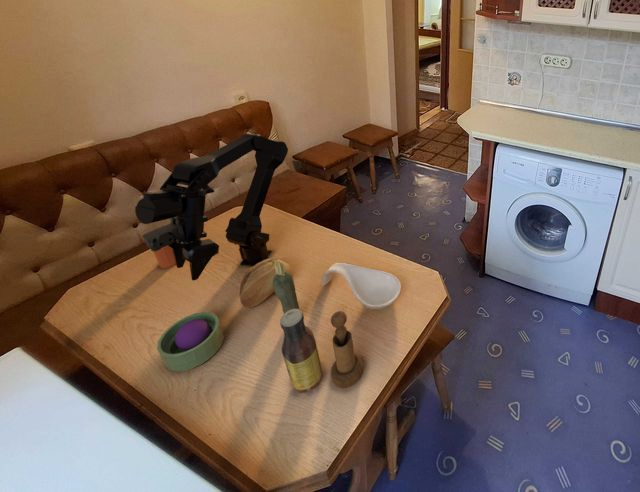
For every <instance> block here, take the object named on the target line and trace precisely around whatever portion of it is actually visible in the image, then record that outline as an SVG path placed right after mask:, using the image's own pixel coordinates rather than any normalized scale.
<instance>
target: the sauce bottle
mask: <svg viewBox="0 0 640 492" xmlns="http://www.w3.org/2000/svg"><path fill="white" fill-rule="evenodd" d="M279 323H280V327H281V329H282V330H283V336H284V337H283V341H282V344H281V355H282V358H283V361H284V363H285V367H286V370H287V374H288V377H289V381H290V383H291V386H292V387H293V389H294V390H295V391H296V392H299V393H300V394H301V393H302V394H305V393H308V392H310V391H313V390H314V389H316V388H317V387H318V386H319V384H320V382H321V381H322V378H323V374H324V373H323V365H322V361H321V357H320V352H319V348H318V343H317V340H316V337H315V334H314V332H313V330H312V329H311V328H309V327H308V326H306V324H305V317H304V312H303V311H302V310H301V309H300V308H299V309H291V310H289V311H287V312H286V313H285V314H284V313H283V315H281V317H280V320H279Z"/></svg>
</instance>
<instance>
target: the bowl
mask: <svg viewBox="0 0 640 492" xmlns="http://www.w3.org/2000/svg"><path fill="white" fill-rule="evenodd" d="M195 319H200V320H204V321H206V322H207V323H208V324H209V326H210V335H209V337H208V338H207V339H206V340H204V341H203V342H202V343H201V344H199V345H198V346H196V347H194V348H193V349H190V350H188V351H184V350H181V349H180V348H178V346H177V345H176V342H175V337H176V334H177V332H178V330H179V329H180V328H181V327H182V326H183V325H184V324H185V323H187V322H189V321H191V320H195ZM224 335H225V334H224V331H223V328H222V325H221V322H220V319H219V317H218V316H217V315H216V314H215V313H212V312H210V311H209V312H208V311H202V312H201V311H200V312H196V313H192V314H189V315H187V316H185V317H183V318H181V319H179V320H177V321H176V322H174V323H173V324H172V325H170V326H169V327H168V328H166V330H165V331H164V332H162V334H161V336H160V338H159V339H158V341H157V346H156V350H157V352H158V354H159V356H160V358H161V360H162V362H163V364H164V366H165V369H167V370H169V371H171V372H178V373H179V372H185V371H188V370H192V369H195V368H197V367H199V366H200V365H202V364H203V363H206V362H207V361H208V360H210V359H211V358H212V357H213V356H214V355H215V354H216V353H217V352H218V350H220V348H221V347H222V344H223V342H224V339H225V336H224Z"/></svg>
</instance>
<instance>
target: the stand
mask: <svg viewBox="0 0 640 492" xmlns="http://www.w3.org/2000/svg"><path fill="white" fill-rule="evenodd" d="M152 252H153V254H154V256H155V259H156V261H157V263H158V266H159V267H160V268H161V269H168V268H170V267H174V266H176V262H175V259H174V255H173V252H172V249H171V247H169V246H166V247H164V248H161V249H160V250H158V251H152Z"/></svg>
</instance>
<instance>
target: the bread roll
mask: <svg viewBox="0 0 640 492" xmlns="http://www.w3.org/2000/svg"><path fill="white" fill-rule="evenodd" d="M274 260H277V261H278V262H281V263H282V264H283V265H284V269H285V271H287V272H289V273H290V274H291V275H292V269H291V266H290V265H289V264H288V263H287V262H285V261H283V260H282V259H278V258H267V259H266V260H263V261H261V262H259V263H257V264H256V265H254V266H251V267H250V268H249V269H248V270H247V271H246V272H245V274H244V275H243V276H242V279H241V281H240V285H239V293H238V294H239V300H240V303H241V305H242V306H243V307H244V308H246V309H251V308H256V306H258V305H260V304H261V303H263V302H264V301H265V300H266V299H267V298H268V297H270V296H271V295H272V294H273V293H275V291H274V288H273V278H274V276H275V275H276V271H275V264H274V265H273V266H272V265H271V262H272V261H274Z"/></svg>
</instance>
